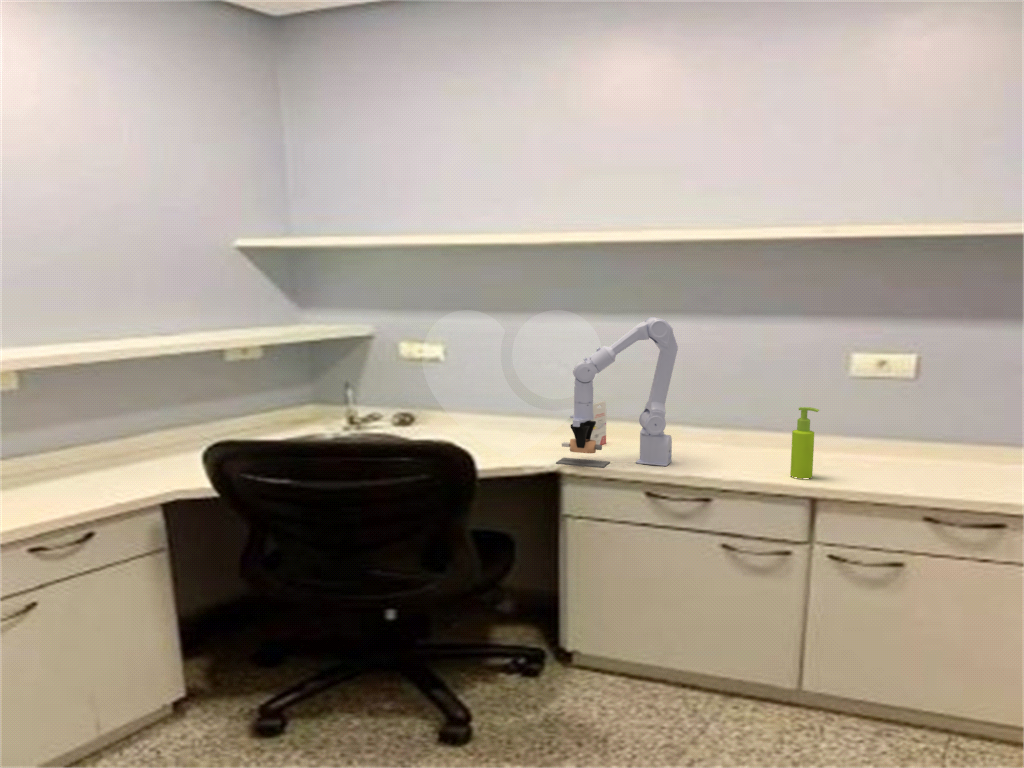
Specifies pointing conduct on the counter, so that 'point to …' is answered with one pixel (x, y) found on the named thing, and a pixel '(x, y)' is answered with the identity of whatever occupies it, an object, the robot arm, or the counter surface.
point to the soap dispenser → (802, 446)
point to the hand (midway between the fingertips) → (583, 446)
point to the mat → (583, 462)
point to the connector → (589, 447)
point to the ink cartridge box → (599, 423)
